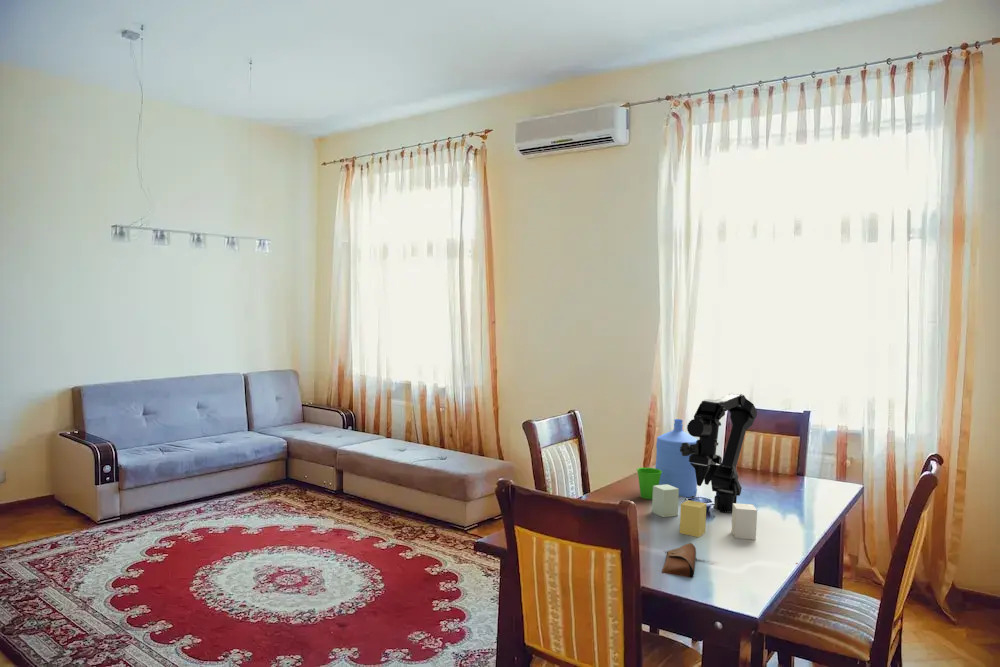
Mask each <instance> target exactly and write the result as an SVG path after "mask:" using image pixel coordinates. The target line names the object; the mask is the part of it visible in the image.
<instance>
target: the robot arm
mask: <svg viewBox="0 0 1000 667" xmlns="http://www.w3.org/2000/svg"><path fill="white" fill-rule="evenodd" d="M727 411H729V413H730V415H729V418H730V420H731V421H730V422H731V424H732V427H731V430H730V433H729V437H728V441H727V444H726V448H725V451H724V455H723V457H721V456H720V455H719V454H716V453H717V446H719V442H718V437H719V429H720V427H721V426H722V423H721V421H720V420H721V419H722V418H723V417H725V415H726V412H727ZM757 415H758V411H757V408H756V407H755V405H754V403H753V402H751V400H748V399H747V398H746V395H744V394H743V393H735V392H731V393H729V394H726V395H724V396H722V397H720V398H717V399H702V401H701V402H700V403H699V405H698V407H697V409H696V412H695V413H694V415H693V419H691V420H689V422H688V424H687V427H686V430H687V432H688V433H687V434H689V435H691V436H693V437H694V438H699V439H698V440H697V441H696V444H693V445H689V444H688V443H682V446H681V447H680V452H681V453H682V456H689V455H690V456H689V462H692V463H690V464H691V465H692V466H693V467H694V469H695V473H696V480H697V486H698V487H701V486H702V484H703V482H704V485H707V486H709V484H710V483H711V490H712V492H715V495H714V497H713V498H714V500H713V501H714V503H715V504H714V503H713V508H714V509H715V510H717V511H718V512H720V513H732V509H733V503H737V497H740V496H741V493H742V486H741V484H740V482H739V474H738V471H737V465H738V461H739V458H740V454H741V450H742V446H743V443H744V439H745V436H746V432H747V430H748V429H749V428H751V427H752V426H753V424H754V422H755V419H756V418H757ZM691 454H692V455H691Z"/></svg>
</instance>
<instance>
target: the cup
mask: <svg viewBox="0 0 1000 667" xmlns="http://www.w3.org/2000/svg"><path fill="white" fill-rule="evenodd" d="M636 471H637V477H638V485H639V493H640V494H639V495H640V498H642V499H644V500H653V486H655V485H659V481H660V476H661V473H662V471H661V470H659V469H655V467H639V468H637V469H636Z"/></svg>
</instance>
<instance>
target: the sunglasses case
mask: <svg viewBox="0 0 1000 667" xmlns="http://www.w3.org/2000/svg"><path fill="white" fill-rule="evenodd" d="M696 549H697V548H696V546H695V545H694V544H693V543H691V542H690V543H686V544H684V545H682V546H679V547H677V548H674V549H671V550H667V551H666V558H665V562H664V565H663V568H662V570H661V573H662V574H664V573H665V575H667V574H668V575H674V576H680V577H684V578H685V577H686V578H691V579H692V578H693V577H694V576H695V568H696V567H695V566H696V556H697V550H696Z"/></svg>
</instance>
